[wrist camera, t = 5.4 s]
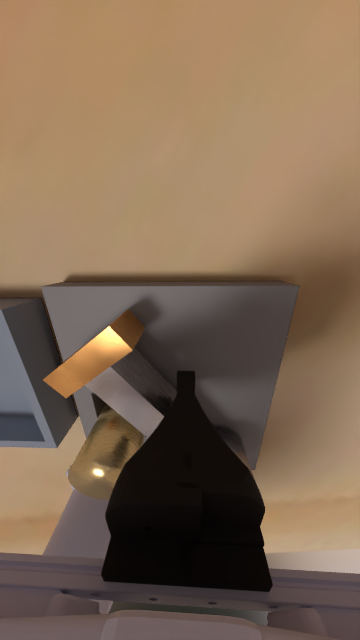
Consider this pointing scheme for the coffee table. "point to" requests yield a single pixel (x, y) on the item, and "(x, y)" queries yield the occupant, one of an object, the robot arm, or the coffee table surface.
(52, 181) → the coffee table surface
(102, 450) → the pin
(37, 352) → the tray
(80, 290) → the crank plate
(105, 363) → the lever
